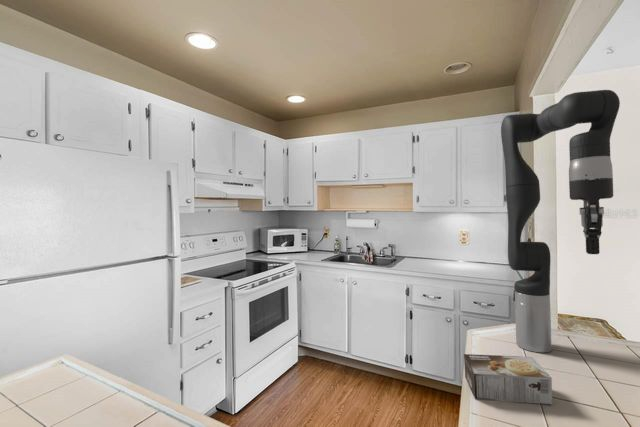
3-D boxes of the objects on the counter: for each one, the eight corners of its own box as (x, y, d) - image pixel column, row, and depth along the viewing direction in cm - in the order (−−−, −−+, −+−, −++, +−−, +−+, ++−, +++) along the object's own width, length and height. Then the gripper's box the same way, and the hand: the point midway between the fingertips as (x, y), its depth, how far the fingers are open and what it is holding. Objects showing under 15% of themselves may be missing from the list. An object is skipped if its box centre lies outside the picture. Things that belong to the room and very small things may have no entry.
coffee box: (533, 381, 76) (464, 376, 79) (532, 356, 76) (463, 352, 79) (553, 405, 67) (474, 399, 70) (552, 377, 67) (473, 372, 70)
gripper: (567, 182, 77) (570, 250, 77) (570, 177, 67) (573, 256, 67) (608, 179, 73) (610, 251, 73) (617, 174, 62) (620, 258, 62)
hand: (592, 253), depth 70 cm, fingers closed
